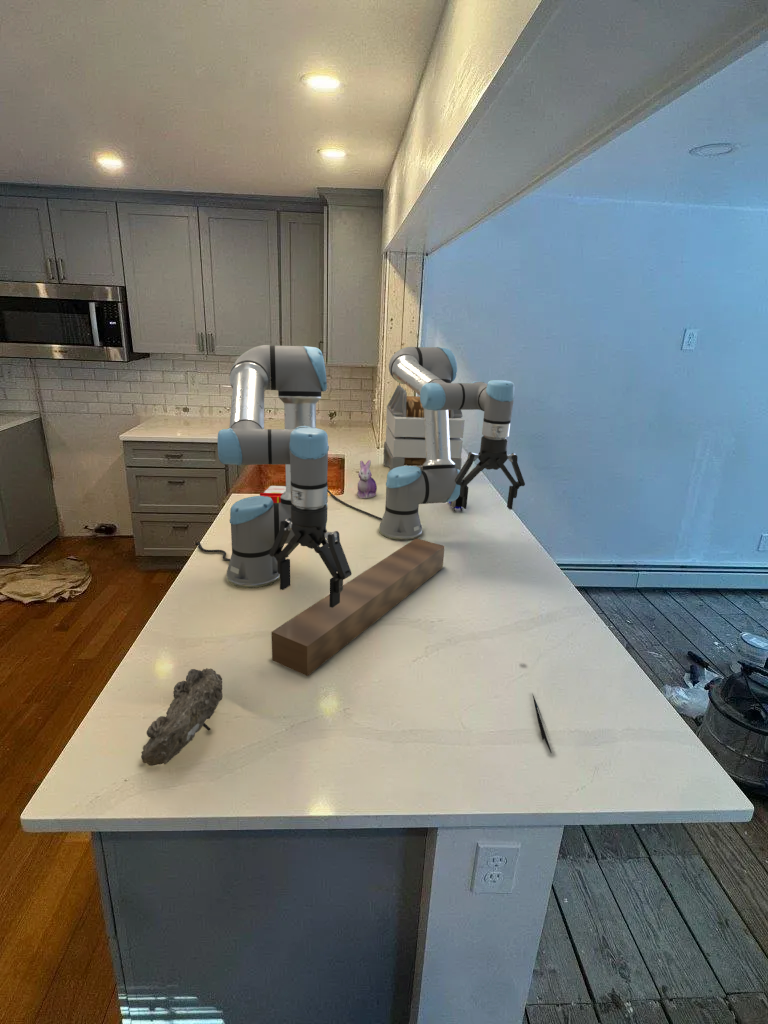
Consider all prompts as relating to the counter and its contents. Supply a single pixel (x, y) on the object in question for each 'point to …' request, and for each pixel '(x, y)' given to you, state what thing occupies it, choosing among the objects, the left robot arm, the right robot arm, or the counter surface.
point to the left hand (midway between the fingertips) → (309, 596)
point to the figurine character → (457, 503)
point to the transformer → (415, 432)
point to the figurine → (366, 481)
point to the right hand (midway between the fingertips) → (486, 507)
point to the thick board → (354, 607)
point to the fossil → (183, 716)
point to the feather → (541, 724)
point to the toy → (274, 493)
